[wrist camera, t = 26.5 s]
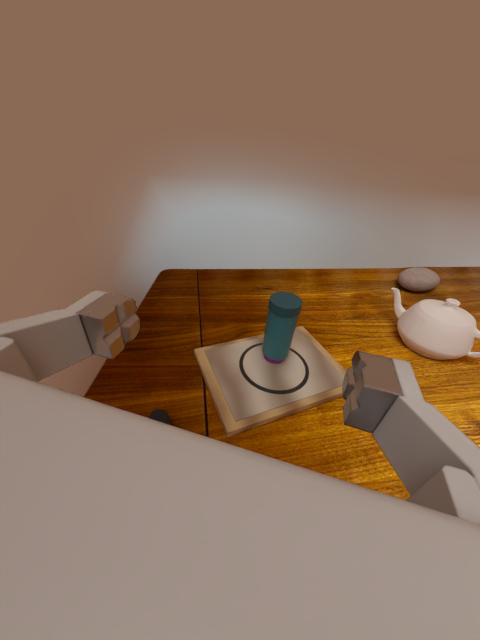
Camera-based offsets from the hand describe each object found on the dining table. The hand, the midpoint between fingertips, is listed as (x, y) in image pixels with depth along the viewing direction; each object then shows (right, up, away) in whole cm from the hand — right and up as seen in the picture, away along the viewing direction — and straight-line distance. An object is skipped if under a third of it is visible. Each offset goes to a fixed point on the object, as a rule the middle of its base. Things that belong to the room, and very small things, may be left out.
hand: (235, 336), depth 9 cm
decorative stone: (+49, +10, +63) cm, 81 cm away
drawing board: (+5, -8, +33) cm, 34 cm away
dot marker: (+6, -5, +33) cm, 34 cm away
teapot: (+37, -4, +42) cm, 56 cm away
